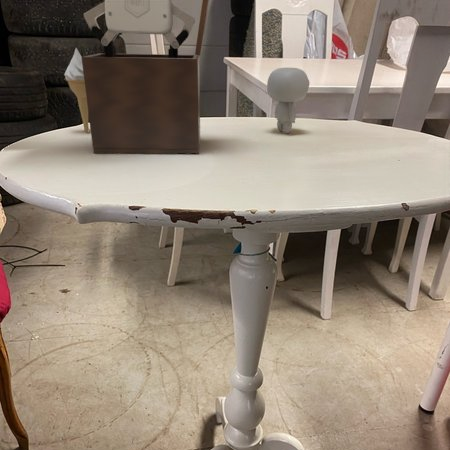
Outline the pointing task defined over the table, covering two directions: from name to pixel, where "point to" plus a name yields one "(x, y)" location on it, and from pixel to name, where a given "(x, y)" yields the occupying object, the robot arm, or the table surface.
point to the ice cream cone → (78, 85)
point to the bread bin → (143, 103)
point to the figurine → (287, 94)
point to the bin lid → (202, 27)
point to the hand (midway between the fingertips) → (142, 74)
